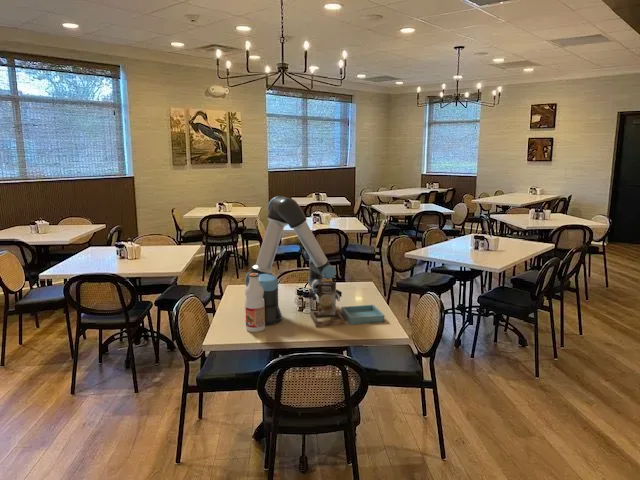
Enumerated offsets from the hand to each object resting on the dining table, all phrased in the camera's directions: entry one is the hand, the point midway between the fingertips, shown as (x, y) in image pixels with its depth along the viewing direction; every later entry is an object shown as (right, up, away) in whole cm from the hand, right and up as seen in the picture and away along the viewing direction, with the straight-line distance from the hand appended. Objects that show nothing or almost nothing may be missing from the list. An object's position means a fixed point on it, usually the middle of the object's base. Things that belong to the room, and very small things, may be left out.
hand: (328, 299), depth 251 cm
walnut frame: (-1, -12, +6) cm, 13 cm away
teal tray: (+18, -11, +10) cm, 23 cm away
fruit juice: (-36, -14, -5) cm, 39 cm away
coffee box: (-1, -8, +6) cm, 10 cm away
